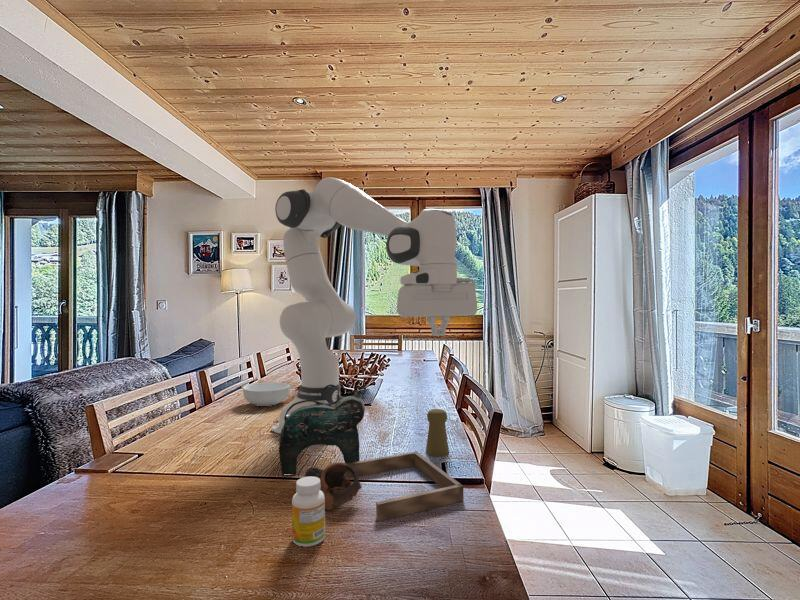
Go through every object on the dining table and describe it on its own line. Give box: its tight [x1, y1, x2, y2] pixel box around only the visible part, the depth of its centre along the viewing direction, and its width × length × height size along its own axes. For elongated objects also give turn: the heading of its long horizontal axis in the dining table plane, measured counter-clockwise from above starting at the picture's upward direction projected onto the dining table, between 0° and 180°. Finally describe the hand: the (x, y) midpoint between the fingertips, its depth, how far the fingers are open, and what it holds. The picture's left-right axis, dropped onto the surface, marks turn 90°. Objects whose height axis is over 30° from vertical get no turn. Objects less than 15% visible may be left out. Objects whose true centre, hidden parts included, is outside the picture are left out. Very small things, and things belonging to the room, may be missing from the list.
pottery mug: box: [304, 462, 362, 512], centre depth 86 cm, size 12×10×8 cm
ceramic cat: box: [278, 384, 366, 476], centre depth 101 cm, size 20×6×20 cm, turn 100°
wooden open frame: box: [344, 450, 464, 522], centre depth 91 cm, size 18×21×3 cm
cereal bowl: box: [242, 381, 291, 407], centre depth 163 cm, size 17×17×7 cm
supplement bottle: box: [291, 476, 326, 548], centre depth 73 cm, size 5×5×10 cm
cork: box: [425, 408, 450, 457], centre depth 112 cm, size 6×6×11 cm
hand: (438, 335), depth 103 cm, fingers closed
